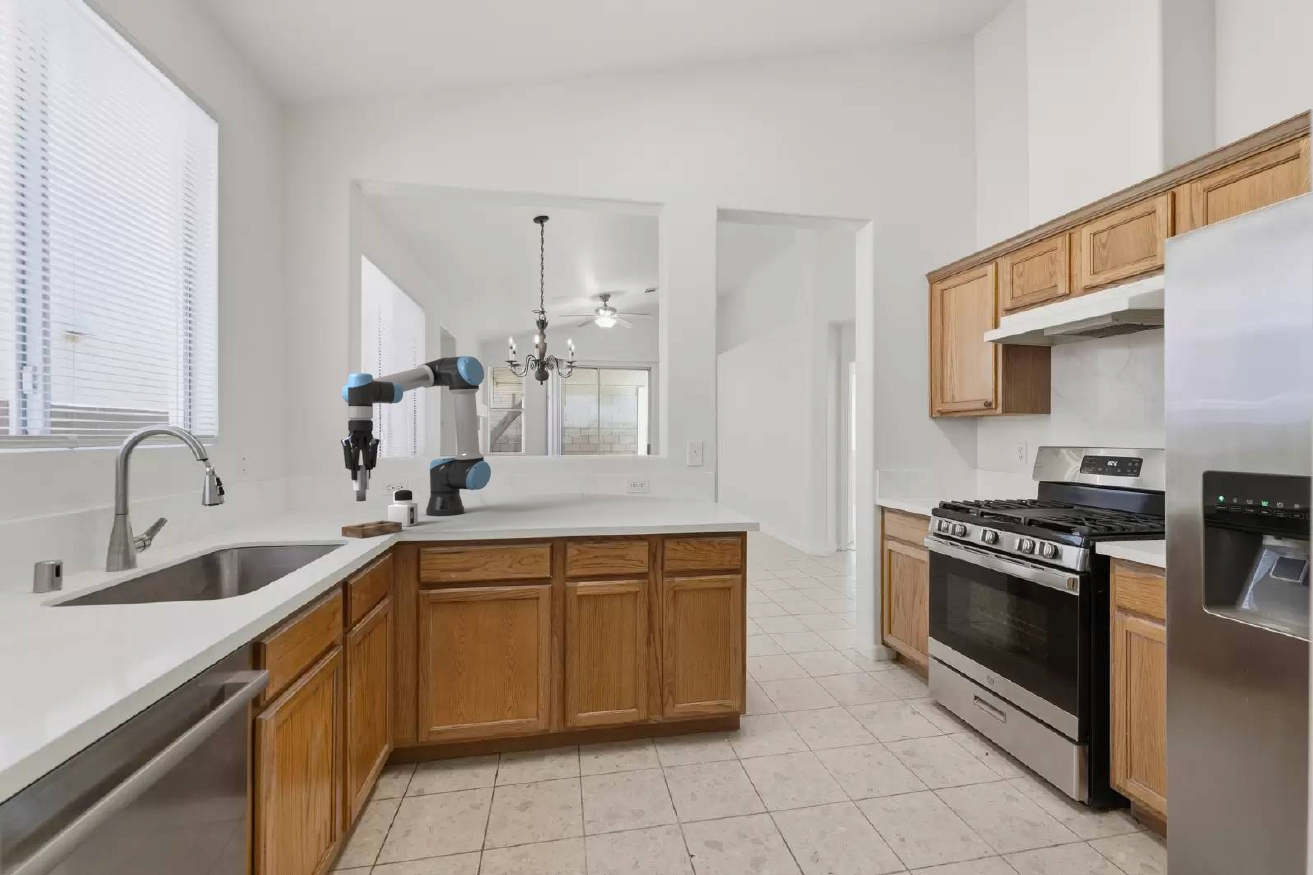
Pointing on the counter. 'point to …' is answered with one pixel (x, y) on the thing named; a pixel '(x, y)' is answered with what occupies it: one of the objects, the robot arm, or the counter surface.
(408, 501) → the container
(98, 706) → the counter surface
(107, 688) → the counter surface
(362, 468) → the pin
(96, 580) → the counter surface
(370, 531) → the hole block
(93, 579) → the counter surface
